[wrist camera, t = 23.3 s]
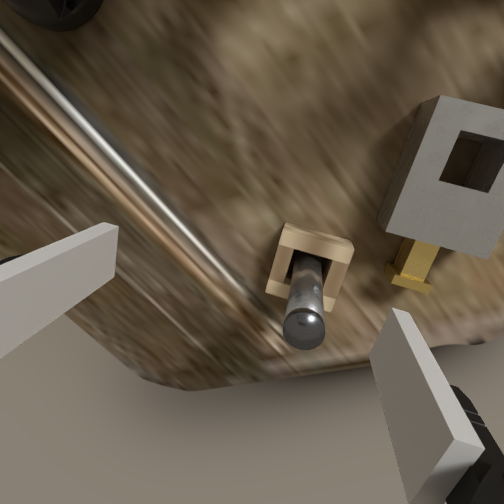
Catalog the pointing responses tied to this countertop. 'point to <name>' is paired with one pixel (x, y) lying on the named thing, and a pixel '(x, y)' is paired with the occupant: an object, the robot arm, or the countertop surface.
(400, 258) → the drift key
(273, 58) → the countertop surface
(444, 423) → the robot arm
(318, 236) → the wooden square frame
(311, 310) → the rod
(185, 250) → the countertop surface
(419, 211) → the socket block
